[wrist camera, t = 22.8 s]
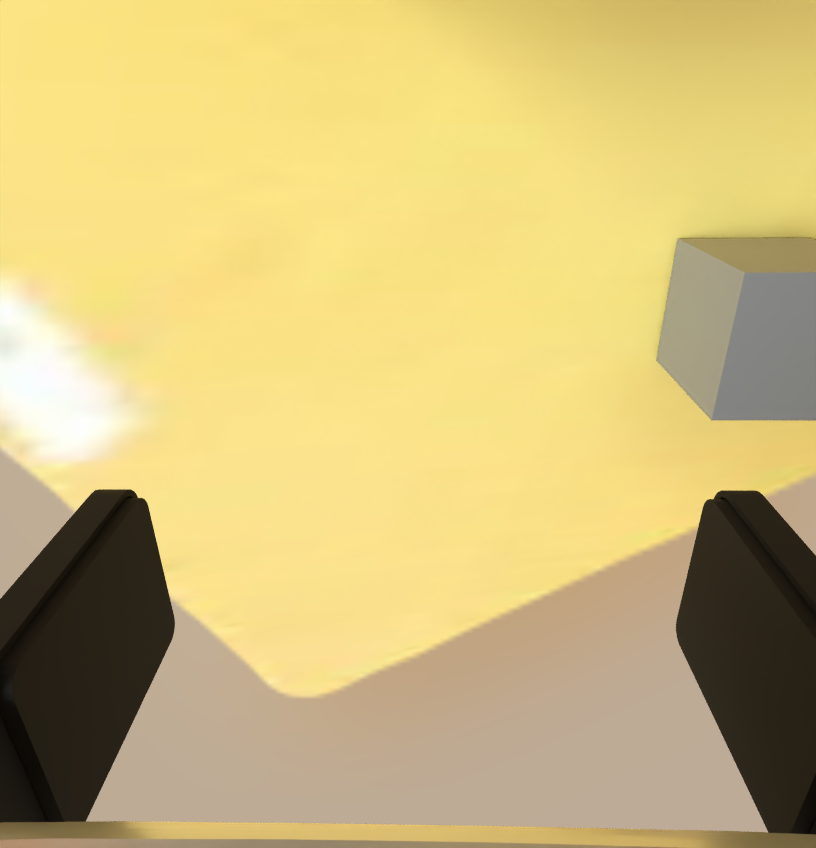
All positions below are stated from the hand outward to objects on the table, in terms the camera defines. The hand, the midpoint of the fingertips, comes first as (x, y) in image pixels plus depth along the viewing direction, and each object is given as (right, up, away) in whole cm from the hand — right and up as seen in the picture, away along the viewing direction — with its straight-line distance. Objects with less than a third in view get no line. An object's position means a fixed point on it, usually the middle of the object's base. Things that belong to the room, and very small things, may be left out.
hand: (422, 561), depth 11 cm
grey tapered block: (+20, +10, +28) cm, 36 cm away
